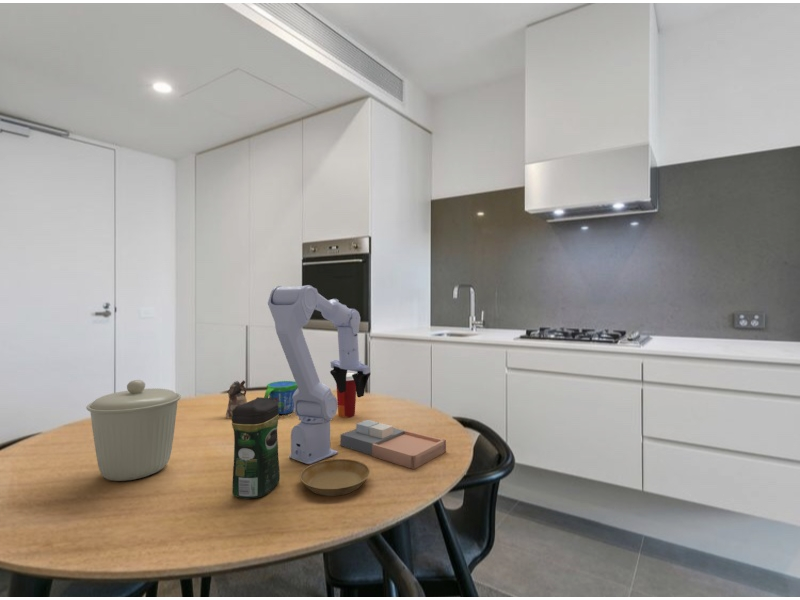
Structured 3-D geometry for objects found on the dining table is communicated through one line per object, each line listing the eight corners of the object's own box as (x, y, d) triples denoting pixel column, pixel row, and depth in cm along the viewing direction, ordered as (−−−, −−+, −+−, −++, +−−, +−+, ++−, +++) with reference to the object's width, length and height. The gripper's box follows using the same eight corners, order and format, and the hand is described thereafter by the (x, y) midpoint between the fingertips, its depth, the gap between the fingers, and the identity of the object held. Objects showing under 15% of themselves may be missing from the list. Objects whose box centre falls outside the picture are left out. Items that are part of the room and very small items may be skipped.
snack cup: (273, 420, 133) (273, 389, 133) (254, 415, 139) (254, 385, 139) (309, 409, 146) (309, 381, 146) (290, 405, 152) (290, 378, 152)
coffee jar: (252, 478, 89) (251, 393, 89) (285, 481, 87) (284, 395, 87) (224, 499, 79) (224, 404, 79) (260, 502, 77) (260, 406, 78)
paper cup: (359, 412, 141) (359, 372, 141) (355, 418, 134) (355, 376, 134) (338, 412, 142) (337, 372, 142) (332, 418, 134) (332, 376, 134)
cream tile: (382, 438, 105) (382, 430, 105) (369, 435, 108) (369, 427, 108) (393, 434, 108) (393, 426, 108) (380, 431, 111) (380, 423, 111)
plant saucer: (384, 484, 85) (384, 472, 85) (325, 509, 75) (325, 495, 75) (343, 464, 96) (343, 453, 96) (287, 484, 86) (287, 472, 86)
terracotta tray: (413, 469, 93) (413, 456, 93) (372, 456, 101) (372, 444, 101) (445, 451, 104) (445, 439, 104) (406, 441, 112) (405, 430, 112)
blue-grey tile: (368, 434, 108) (368, 426, 108) (356, 431, 111) (356, 423, 111) (379, 430, 111) (379, 422, 112) (367, 427, 114) (367, 419, 114)
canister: (102, 462, 97) (102, 376, 98) (186, 452, 104) (185, 371, 104) (71, 496, 81) (71, 391, 81) (173, 481, 87) (173, 384, 87)
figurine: (227, 413, 141) (227, 379, 141) (248, 412, 143) (248, 378, 143) (224, 419, 134) (224, 383, 134) (247, 417, 136) (247, 382, 136)
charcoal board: (373, 455, 101) (373, 443, 101) (340, 445, 108) (340, 434, 109) (404, 441, 111) (404, 430, 111) (372, 433, 119) (372, 422, 119)
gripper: (376, 348, 116) (378, 394, 117) (341, 344, 125) (344, 386, 126) (359, 353, 111) (361, 401, 112) (324, 348, 120) (327, 392, 121)
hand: (351, 394), depth 119 cm, fingers open, 7 cm apart
